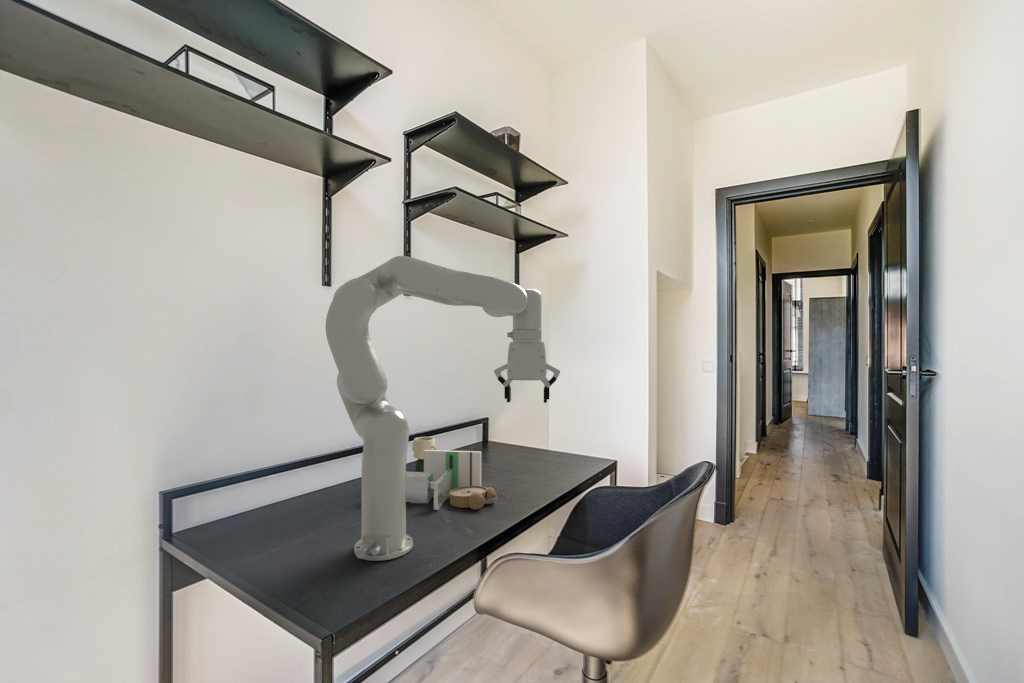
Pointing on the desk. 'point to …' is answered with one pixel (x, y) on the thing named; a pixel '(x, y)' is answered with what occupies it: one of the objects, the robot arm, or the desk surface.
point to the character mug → (422, 450)
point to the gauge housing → (418, 487)
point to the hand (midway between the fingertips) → (527, 402)
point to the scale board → (455, 466)
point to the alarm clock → (472, 496)
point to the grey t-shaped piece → (443, 485)
